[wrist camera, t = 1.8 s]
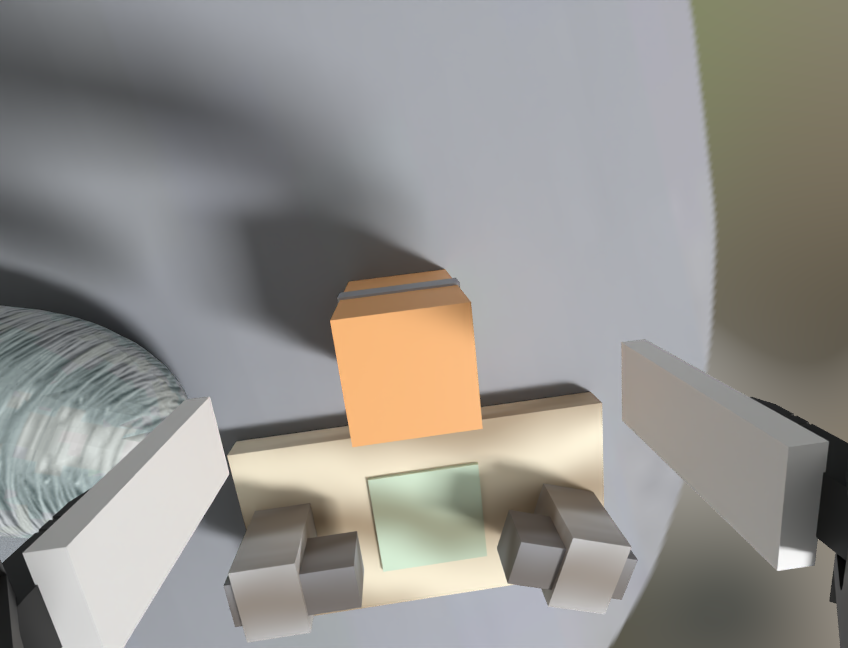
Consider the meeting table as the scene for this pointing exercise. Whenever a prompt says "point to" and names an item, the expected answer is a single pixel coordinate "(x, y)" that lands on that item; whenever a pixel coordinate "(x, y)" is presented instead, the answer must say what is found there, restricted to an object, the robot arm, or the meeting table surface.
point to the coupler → (406, 357)
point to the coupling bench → (425, 517)
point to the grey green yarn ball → (69, 410)
